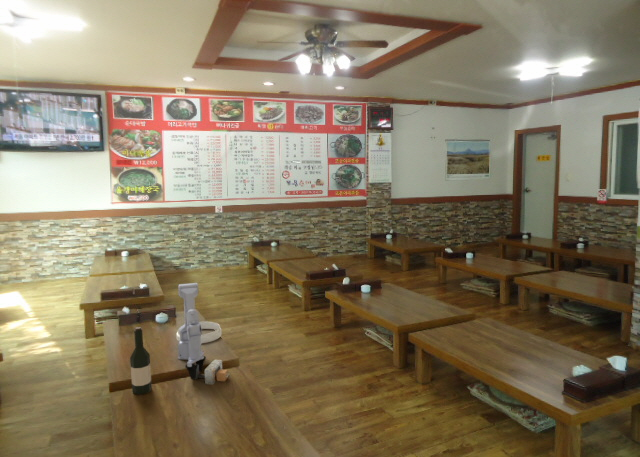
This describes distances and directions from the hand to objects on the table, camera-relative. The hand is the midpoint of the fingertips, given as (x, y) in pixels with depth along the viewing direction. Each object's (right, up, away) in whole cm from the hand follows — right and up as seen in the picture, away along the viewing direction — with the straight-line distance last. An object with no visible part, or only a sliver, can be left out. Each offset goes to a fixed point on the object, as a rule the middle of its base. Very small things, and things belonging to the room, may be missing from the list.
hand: (196, 374), depth 221 cm
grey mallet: (+7, -1, -1) cm, 7 cm away
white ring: (-14, +5, +59) cm, 61 cm away
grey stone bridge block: (+9, -1, -1) cm, 9 cm away
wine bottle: (-22, -3, -12) cm, 25 cm away
